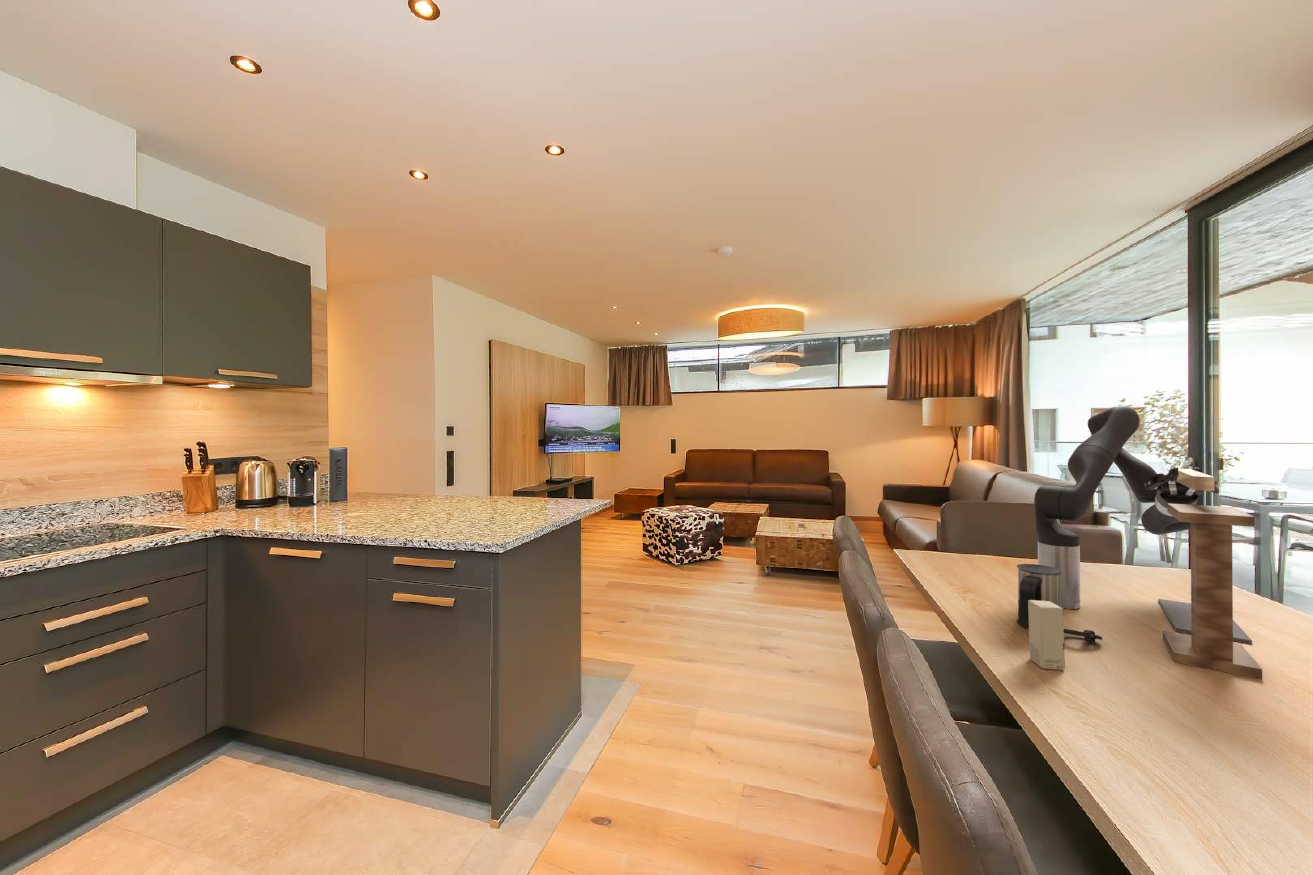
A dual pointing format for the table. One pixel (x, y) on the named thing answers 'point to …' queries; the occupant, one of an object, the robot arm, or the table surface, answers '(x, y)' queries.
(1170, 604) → the charcoal mat
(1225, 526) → the walnut pedestal
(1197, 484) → the birch bar
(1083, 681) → the table surface
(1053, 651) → the box
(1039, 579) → the milk frother
